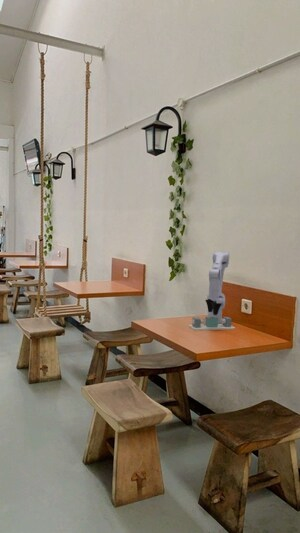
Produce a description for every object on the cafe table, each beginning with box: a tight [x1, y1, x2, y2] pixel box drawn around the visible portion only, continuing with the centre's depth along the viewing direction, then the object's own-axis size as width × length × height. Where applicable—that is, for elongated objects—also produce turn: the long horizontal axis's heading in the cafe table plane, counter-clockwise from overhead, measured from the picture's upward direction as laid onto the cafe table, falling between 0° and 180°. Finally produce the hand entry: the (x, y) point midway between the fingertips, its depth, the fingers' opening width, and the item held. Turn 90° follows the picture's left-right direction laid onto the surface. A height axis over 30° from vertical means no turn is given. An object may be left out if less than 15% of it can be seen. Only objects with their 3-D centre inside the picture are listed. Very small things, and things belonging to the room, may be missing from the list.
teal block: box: [204, 316, 218, 327], centre depth 240 cm, size 6×4×5 cm, turn 104°
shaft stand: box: [188, 316, 236, 331], centre depth 240 cm, size 9×25×6 cm, turn 104°
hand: (212, 313), depth 239 cm, fingers open, 7 cm apart
